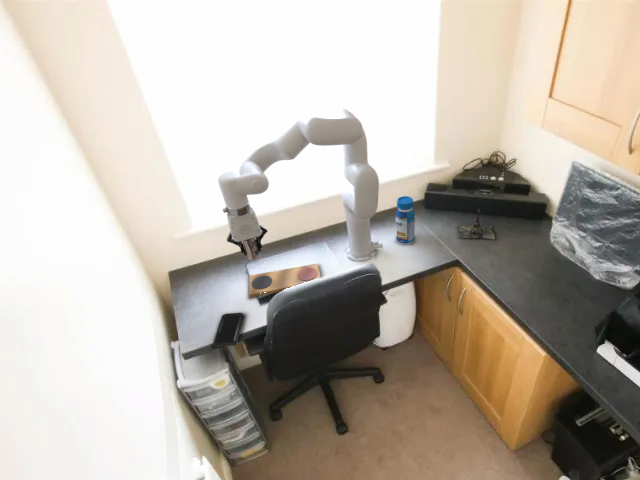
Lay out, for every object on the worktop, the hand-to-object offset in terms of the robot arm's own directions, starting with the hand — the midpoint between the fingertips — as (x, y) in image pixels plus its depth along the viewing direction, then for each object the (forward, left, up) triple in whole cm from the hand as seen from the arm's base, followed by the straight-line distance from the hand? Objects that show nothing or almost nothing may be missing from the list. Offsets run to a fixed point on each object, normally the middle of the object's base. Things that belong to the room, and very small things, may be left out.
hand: (252, 251), depth 153 cm
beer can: (0, 0, -3) cm, 3 cm away
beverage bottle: (-63, -14, -17) cm, 67 cm away
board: (-9, 0, -17) cm, 19 cm away
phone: (+12, +22, -17) cm, 30 cm away
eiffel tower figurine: (-95, -10, -17) cm, 97 cm away
